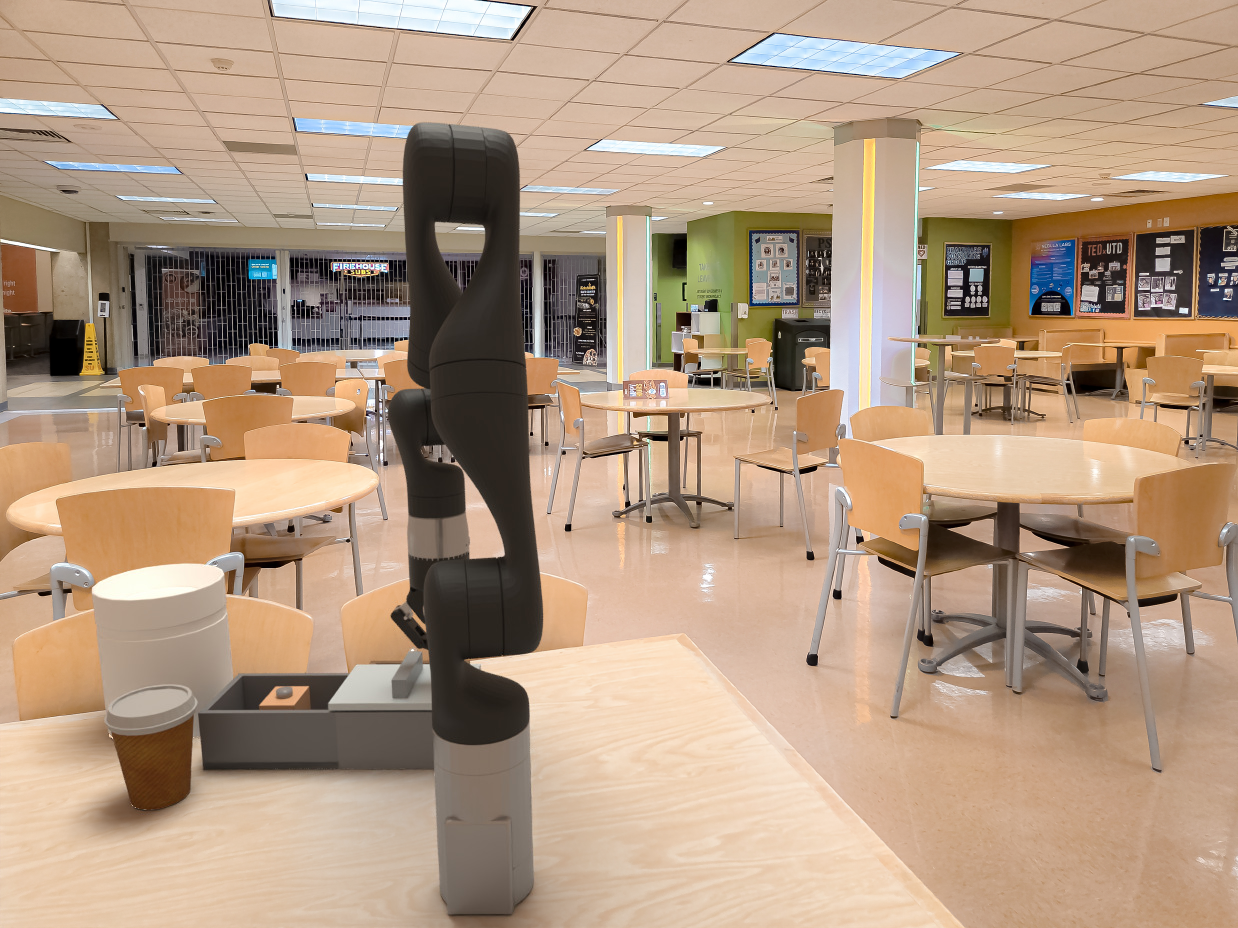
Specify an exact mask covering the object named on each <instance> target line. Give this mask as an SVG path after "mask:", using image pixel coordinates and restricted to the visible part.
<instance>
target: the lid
mask: <svg viewBox="0 0 1238 928" xmlns="http://www.w3.org/2000/svg"><path fill="white" fill-rule="evenodd" d="M402 661H403V662H402V663H401V664H369V663H368V664H356V665H355V666H354V667H353V669H352V670H351V671H350V672H349V673H350V674H349V676H348V677H347V678H346V680H345V681H344V682H343V684H342V685H341V686H340V688H339V689H338V691H337V692H336V693H335V695H334V696H333V697H332V699H331V700H330V702H329V703H328V710H432V694H431V673H430V664H423V661H424V660H423V651H418V652H408V651H407V654H406V656H405V657H404V659H403V660H402ZM470 665H472V666H474V667H475V668H478V669H480V670H482V663H470Z"/></svg>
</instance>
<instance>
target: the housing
mask: <svg viewBox="0 0 1238 928" xmlns="http://www.w3.org/2000/svg"><path fill="white" fill-rule="evenodd" d="M350 673H351V672H285V673H284V672H281V673H280V672H279V673H278V672H275V673H274V672H272V673H271V672H269V673H267V672H264V673H262V672H261V673H259V672H253V673H251V672H250V673H249V672H248V673H246V672H245V673H238V674H237V675H236V676H234V677H233V680H232V681H231V682H230V683H229V684H227V685H226V686H225V687H224V688H223V689H222V690H221V691H220V692H219V693H218V694H217V695H216V696H215V697H214V698H213V699H212V700H211V701H210V702H209V703H208V704H207V705H206V706H205V707H204V708H203V709H202V710H201V711H200V712H199V713H198V719H199V729H200V736H199V739H200V749H201V757H202V769H203V771H210V770H212V771H214V770H216V771H218V770H220V771H223V770H227V771H228V770H229V771H231V770H232V771H233V770H235V771H236V770H237V771H239V770H240V771H241V770H243V771H244V770H247V771H249V770H250V771H252V770H253V771H254V770H255V771H256V770H258V771H259V770H262V771H263V770H264V771H265V770H434V757H433V756H434V754H433V732H432V710H328V703H329V702H330V700H331V699H332V697H333V696H334V695H335V693H336V692H337V691H338V689H339V688H340V686H341V685H342V684H343V682H344V681H345V680H346V678H347V677H348V676H349V674H350ZM277 686H309V691H310V705H311V710H259V705H260V704H261V703H262V702H263V700H264V699H265V698H266V697H267V696H268V695H269V694H270V692H271V691H272V690H273V689H274V688H275V687H277Z"/></svg>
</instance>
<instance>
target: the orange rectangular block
mask: <svg viewBox="0 0 1238 928" xmlns="http://www.w3.org/2000/svg"><path fill="white" fill-rule="evenodd" d="M259 710H311V705H310V691H309V686H277V687H275V688H274V689H273V690H272V691H271V692H270V694H269V695H268V696H267V697H266V698H265V699H264V700H263V702H262V703H261V704H260V705H259Z"/></svg>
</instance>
